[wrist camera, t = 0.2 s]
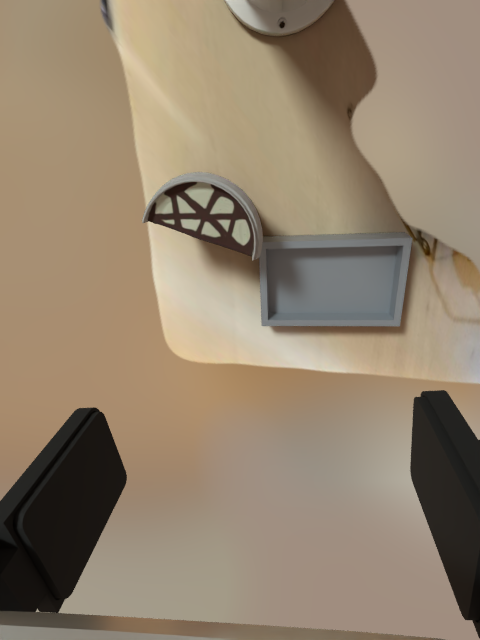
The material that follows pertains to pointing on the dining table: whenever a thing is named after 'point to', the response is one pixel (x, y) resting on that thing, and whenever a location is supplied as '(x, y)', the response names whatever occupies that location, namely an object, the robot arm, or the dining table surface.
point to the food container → (208, 212)
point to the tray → (334, 279)
